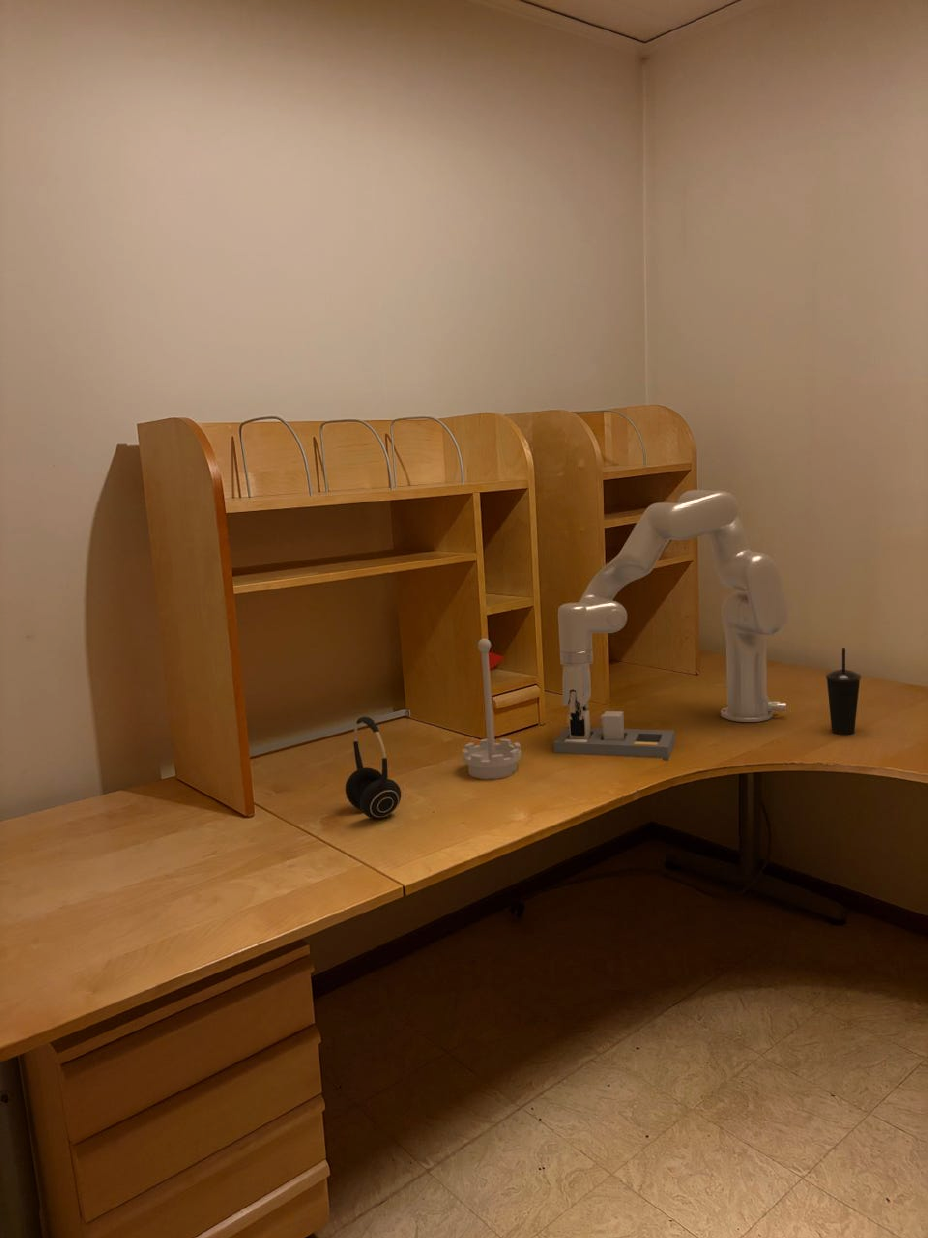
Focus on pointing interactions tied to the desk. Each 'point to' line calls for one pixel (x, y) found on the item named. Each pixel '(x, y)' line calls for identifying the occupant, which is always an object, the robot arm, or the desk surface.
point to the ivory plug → (586, 725)
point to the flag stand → (490, 733)
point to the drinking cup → (843, 698)
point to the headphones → (372, 782)
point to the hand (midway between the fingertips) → (579, 731)
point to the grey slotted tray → (617, 740)
